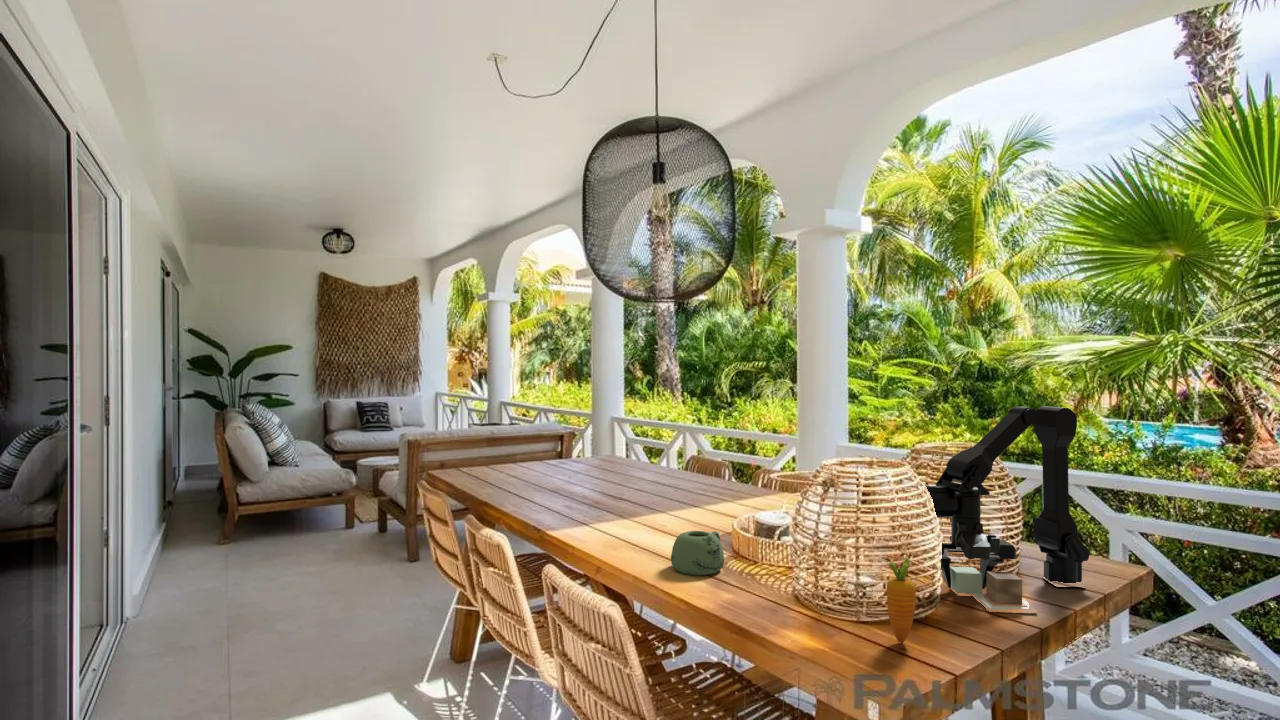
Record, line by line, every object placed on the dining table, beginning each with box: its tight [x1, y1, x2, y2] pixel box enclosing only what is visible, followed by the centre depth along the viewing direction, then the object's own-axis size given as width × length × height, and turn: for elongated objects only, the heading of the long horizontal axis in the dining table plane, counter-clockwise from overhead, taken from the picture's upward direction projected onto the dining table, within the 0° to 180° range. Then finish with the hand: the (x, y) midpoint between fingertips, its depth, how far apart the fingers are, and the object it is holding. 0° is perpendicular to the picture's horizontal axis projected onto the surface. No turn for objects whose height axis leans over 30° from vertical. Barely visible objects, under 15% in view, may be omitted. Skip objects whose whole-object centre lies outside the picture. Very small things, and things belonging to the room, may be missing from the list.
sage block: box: [950, 566, 983, 594], centre depth 153 cm, size 5×5×5 cm
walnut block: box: [985, 571, 1023, 604], centre depth 146 cm, size 5×5×5 cm
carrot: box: [886, 557, 917, 644], centre depth 126 cm, size 5×5×15 cm
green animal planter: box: [670, 530, 725, 577], centre depth 172 cm, size 16×13×9 cm
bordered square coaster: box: [973, 592, 1030, 610], centre depth 145 cm, size 9×9×1 cm
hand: (965, 588), depth 153 cm, fingers open, 7 cm apart
